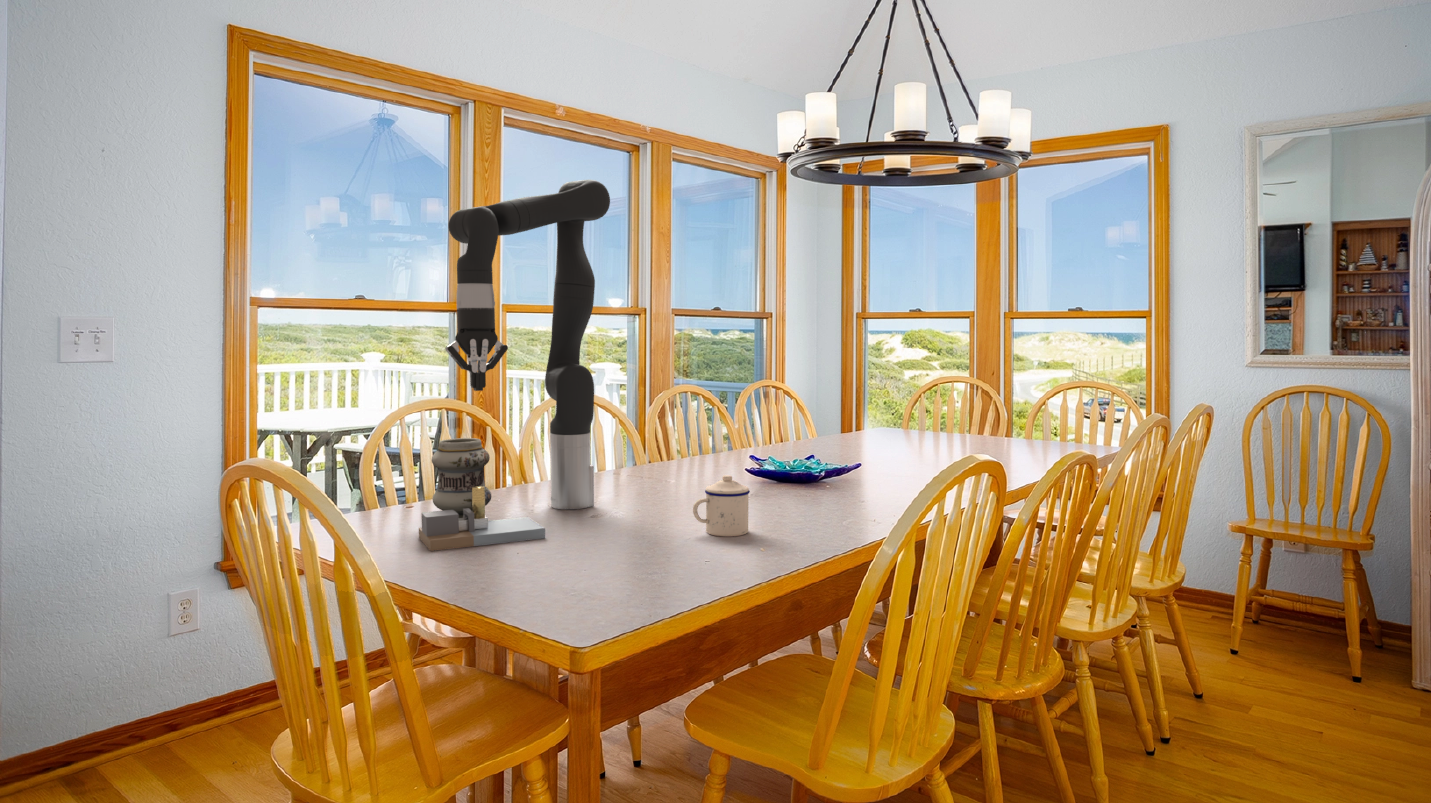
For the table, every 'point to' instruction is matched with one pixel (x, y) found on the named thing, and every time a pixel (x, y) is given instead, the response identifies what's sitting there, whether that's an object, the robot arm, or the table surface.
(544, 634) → the table surface
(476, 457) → the apothecary jar
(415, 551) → the table surface
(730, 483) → the teacup with lid
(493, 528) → the door and jamb lock plate
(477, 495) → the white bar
